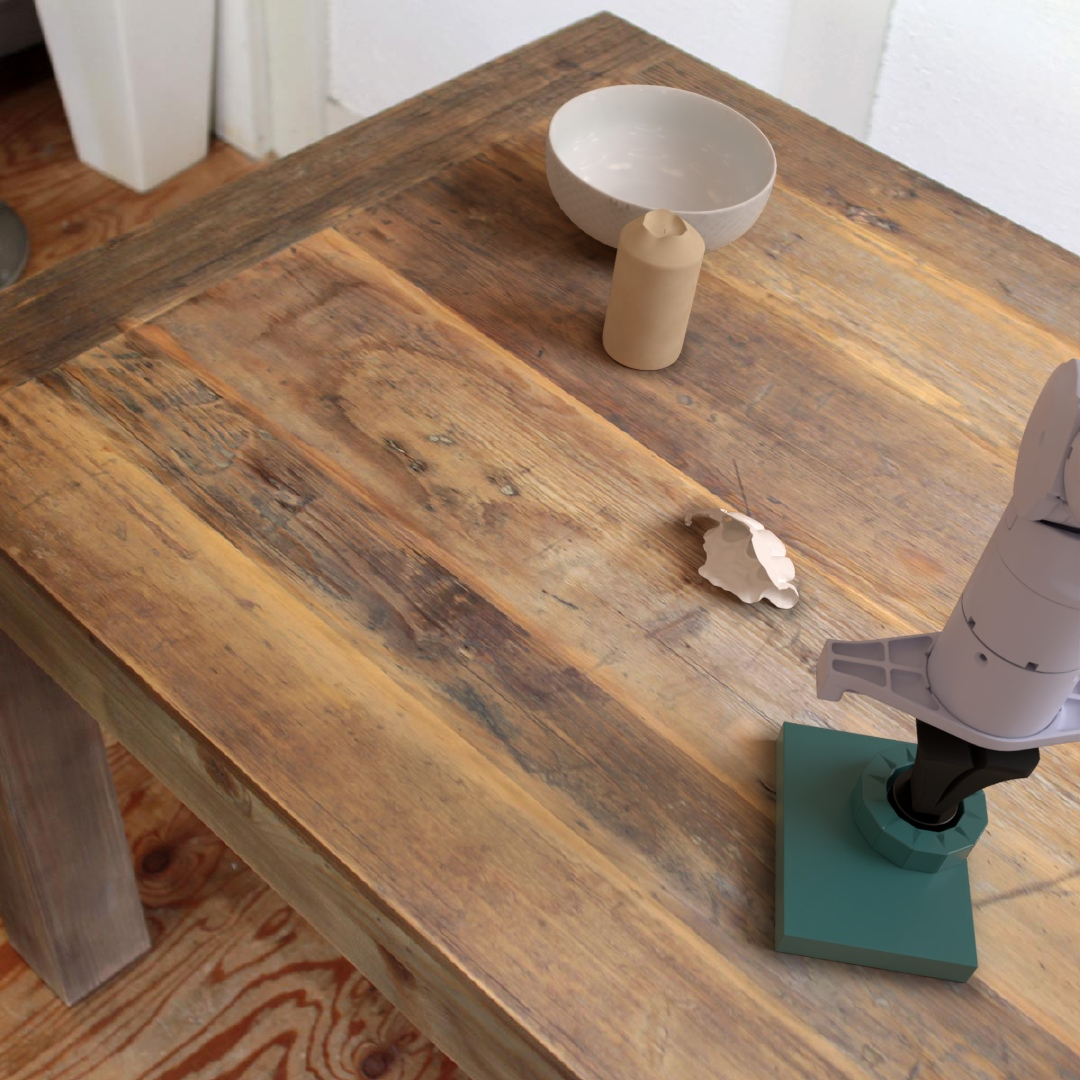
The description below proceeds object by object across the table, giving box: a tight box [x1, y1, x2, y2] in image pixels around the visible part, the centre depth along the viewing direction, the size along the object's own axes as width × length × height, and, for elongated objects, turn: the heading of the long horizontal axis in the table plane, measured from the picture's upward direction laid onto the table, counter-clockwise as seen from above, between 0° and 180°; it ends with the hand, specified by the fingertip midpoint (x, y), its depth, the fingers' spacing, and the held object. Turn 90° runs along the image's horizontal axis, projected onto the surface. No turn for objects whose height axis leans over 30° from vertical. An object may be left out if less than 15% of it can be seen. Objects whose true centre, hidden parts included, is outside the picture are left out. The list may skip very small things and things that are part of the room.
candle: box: [602, 209, 705, 371], centre depth 88 cm, size 6×6×10 cm
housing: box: [774, 721, 989, 984], centre depth 65 cm, size 12×10×4 cm
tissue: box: [681, 507, 800, 610], centre depth 77 cm, size 6×8×4 cm
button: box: [887, 769, 958, 832], centre depth 65 cm, size 3×3×2 cm
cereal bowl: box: [544, 83, 778, 255], centre depth 99 cm, size 17×17×7 cm
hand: (925, 796), depth 65 cm, fingers closed, pressing on button
